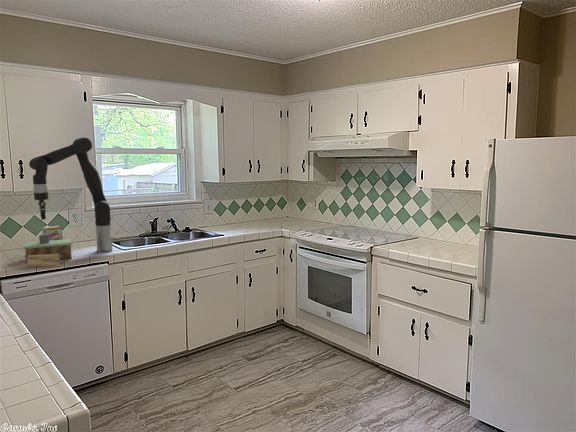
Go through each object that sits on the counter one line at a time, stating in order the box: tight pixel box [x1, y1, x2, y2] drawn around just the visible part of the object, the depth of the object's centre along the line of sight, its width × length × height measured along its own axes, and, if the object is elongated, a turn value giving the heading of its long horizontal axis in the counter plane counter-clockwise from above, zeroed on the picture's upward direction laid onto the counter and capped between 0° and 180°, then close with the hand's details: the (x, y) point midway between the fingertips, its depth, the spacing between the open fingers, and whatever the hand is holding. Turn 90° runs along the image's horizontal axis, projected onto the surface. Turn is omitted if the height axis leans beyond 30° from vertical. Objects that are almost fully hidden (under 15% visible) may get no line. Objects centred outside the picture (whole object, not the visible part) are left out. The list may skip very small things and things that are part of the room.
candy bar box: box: [41, 225, 64, 241], centre depth 297 cm, size 11×5×16 cm, turn 141°
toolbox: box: [24, 245, 72, 264], centre depth 275 cm, size 24×14×9 cm, turn 119°
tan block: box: [27, 254, 61, 268], centre depth 260 cm, size 4×16×6 cm, turn 108°
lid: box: [23, 234, 73, 249], centre depth 274 cm, size 25×15×6 cm, turn 119°
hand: (43, 218), depth 269 cm, fingers open, 8 cm apart
